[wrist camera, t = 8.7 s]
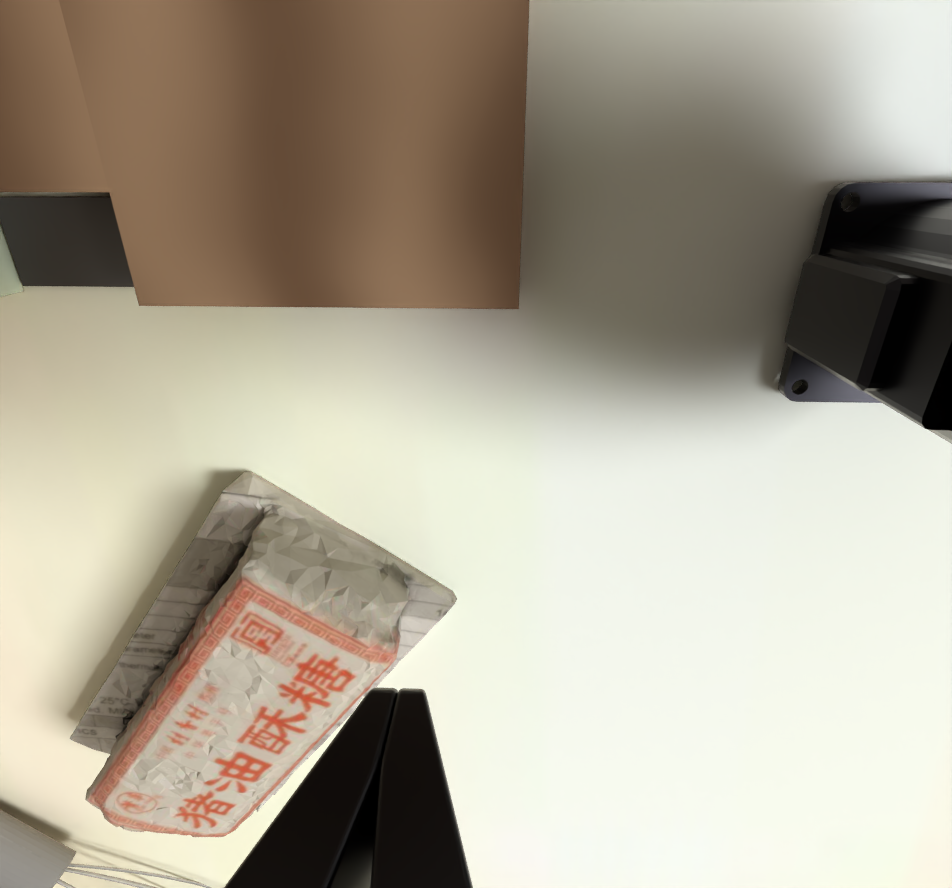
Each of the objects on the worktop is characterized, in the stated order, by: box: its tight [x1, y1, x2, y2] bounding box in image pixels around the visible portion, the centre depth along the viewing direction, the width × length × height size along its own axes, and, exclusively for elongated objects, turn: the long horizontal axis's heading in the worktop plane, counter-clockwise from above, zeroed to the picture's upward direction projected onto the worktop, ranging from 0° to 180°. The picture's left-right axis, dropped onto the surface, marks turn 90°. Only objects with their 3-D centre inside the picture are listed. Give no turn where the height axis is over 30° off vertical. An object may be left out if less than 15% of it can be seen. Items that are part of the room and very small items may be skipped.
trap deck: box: [0, 0, 529, 309], centre depth 14 cm, size 23×12×4 cm, turn 90°
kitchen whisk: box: [0, 810, 211, 888], centre depth 30 cm, size 6×34×6 cm, turn 47°
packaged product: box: [70, 471, 457, 837], centre depth 23 cm, size 18×5×10 cm
